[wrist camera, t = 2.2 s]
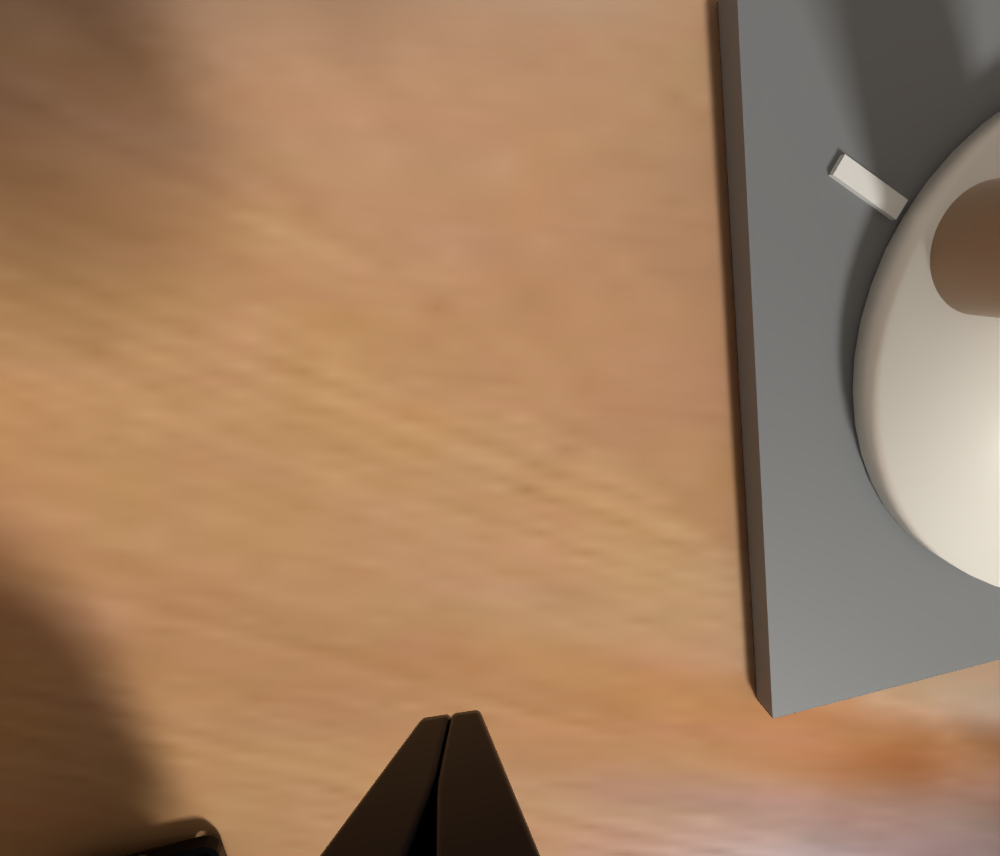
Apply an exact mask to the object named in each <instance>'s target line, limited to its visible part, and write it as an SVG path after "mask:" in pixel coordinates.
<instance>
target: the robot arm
mask: <svg viewBox="0 0 1000 856" xmlns="http://www.w3.org/2000/svg"><path fill="white" fill-rule="evenodd" d="M200 853H207V854H209V855H202V854H200ZM128 856H226V854H225V851H224V848H223V845H222V843H221V842H220V840H218V839H217V838H215V837H212V836H202V837H198V838H194V839H190V840H186V841H182V842H178V843H175V844H171V845H167V846H163V847H159V848H155V849H151V850H147V851H143V852H139V853H135V854H132V855H128ZM320 856H540V855H539V852H538V850H537V847H536V845H535V843H534V840H533V838H532V835H531V833H530V830H529V828H528V826H527V823H526V821H525V818H524V816H523V814H522V811H521V809H520V806H519V804H518V801H517V799H516V797H515V794H514V792H513V789H512V787H511V785H510V782H509V780H508V777H507V775H506V773H505V770H504V768H503V765H502V763H501V760H500V758H499V756H498V753H497V751H496V748H495V746H494V744H493V741H492V739H491V736H490V734H489V731H488V729H487V727H486V724H485V722H484V719H483V717H482V715H481V713H480V712H479V711H477V710H474V711H467V712H459V713H455V714H454V715H453V716H452V717H450V716H449V715H439V716H433V717H426V718H423V719H422V720H421V721H420V722H419V723H418V725H417V726H416V727H415V729H414V730H413V732H412V733H411V734H410V736H409V737H408V738H407V740H406V741H405V742H404V744H403V745H402V746H401V748H400V749H399V750H398V752H397V753H396V754H395V756H394V757H393V758H392V760H391V761H390V763H389V764H388V765H387V767H386V768H385V769H384V771H383V772H382V773H381V775H380V776H379V777H378V779H377V780H376V781H375V783H374V784H373V785H372V787H371V788H370V789H369V791H368V792H367V793H366V795H365V796H364V798H363V799H362V800H361V802H360V803H359V804H358V806H357V807H356V808H355V810H354V811H353V812H352V814H351V815H350V816H349V818H348V819H347V820H346V822H345V823H344V824H343V826H342V827H341V829H340V830H339V831H338V833H337V834H336V835H335V837H334V838H333V839H332V841H331V842H330V843H329V845H328V846H327V847H326V849H325V850H324V851H323V853H322V854H321V855H320Z"/></svg>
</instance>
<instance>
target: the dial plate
mask: <svg viewBox="0 0 1000 856" xmlns="http://www.w3.org/2000/svg"><path fill="white" fill-rule="evenodd" d="M718 16H719V34H720V51H721V69H722V87H723V104H724V122H725V140H726V157H727V175H728V193H729V211H730V228H731V246H732V264H733V281H734V299H735V317H736V334H737V352H738V370H739V387H740V405H741V423H742V441H743V458H744V476H745V494H746V511H747V529H748V547H749V564H750V582H751V600H752V617H753V635H754V653H755V671H756V688H757V700H758V701H759V703H760V704H761V705H762V706H763V707H764V709H765V710H766V711H767V712H768V713H769V715H770V716H771V717H772V718H777V717H781V716H785V715H788V714H792V713H796V712H800V711H804V710H808V709H811V708H815V707H819V706H823V705H827V704H831V703H834V702H838V701H842V700H846V699H850V698H854V697H857V696H861V695H865V694H869V693H873V692H877V691H880V690H884V689H888V688H892V687H896V686H900V685H903V684H907V683H911V682H915V681H919V680H923V679H926V678H930V677H934V676H938V675H942V674H946V673H949V672H953V671H957V670H961V669H965V668H969V667H972V666H976V665H980V664H984V663H988V662H992V661H995V660H999V659H1000V587H997V586H994V585H991V584H989V583H987V582H984V581H982V580H980V579H978V578H975V577H973V576H971V575H969V574H967V573H965V572H963V571H962V570H960V569H958V568H956V567H954V566H953V565H951V564H949V563H947V562H945V561H943V560H942V559H940V558H938V557H937V556H935V555H934V554H932V553H931V552H929V551H928V550H926V549H925V548H923V547H922V546H920V545H919V544H918V543H917V542H916V541H915V540H913V539H912V538H911V537H910V536H909V535H908V534H907V533H906V532H905V531H904V530H903V529H902V528H901V527H900V526H899V525H898V523H897V522H896V521H895V520H894V518H893V517H892V516H891V514H890V513H889V512H888V511H887V509H886V508H885V507H884V505H883V503H882V501H881V499H880V497H879V496H878V494H877V492H876V490H875V488H874V486H873V485H872V483H871V480H870V477H869V475H868V472H867V469H866V466H865V464H864V461H863V458H862V455H861V451H860V446H859V441H858V437H857V432H856V427H855V419H854V405H853V373H854V356H855V350H856V344H857V338H858V332H859V327H860V321H861V317H862V314H863V310H864V307H865V304H866V300H867V297H868V293H869V290H870V286H871V283H872V281H873V278H874V276H875V274H876V271H877V269H878V266H879V264H880V261H881V259H882V257H883V254H884V252H885V249H886V247H887V245H888V244H889V242H890V240H891V238H892V236H893V234H894V232H895V231H896V229H897V227H898V225H899V223H900V221H901V220H902V218H903V216H904V214H905V212H906V211H907V210H908V208H909V207H910V205H911V204H912V202H913V201H914V199H915V198H916V196H917V195H918V194H919V192H920V191H921V189H922V188H923V186H924V185H925V183H926V182H927V181H928V179H929V178H930V177H931V176H932V175H933V174H934V172H935V171H936V170H937V169H938V168H939V167H940V165H941V164H942V163H943V162H944V161H945V160H946V158H947V157H948V156H949V155H950V154H951V153H952V151H953V150H954V149H955V148H957V147H958V146H959V145H960V144H961V143H962V142H963V141H964V140H965V139H966V138H967V137H968V136H969V135H971V134H972V133H973V132H974V131H975V130H976V129H977V128H978V127H979V126H980V125H981V124H982V123H984V122H985V121H987V120H988V119H989V118H991V117H992V116H993V115H995V114H996V113H997V112H999V111H1000V0H720V1H719V2H718Z"/></svg>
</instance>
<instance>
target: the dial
mask: <svg viewBox="0 0 1000 856" xmlns="http://www.w3.org/2000/svg"><path fill="white" fill-rule="evenodd" d="M853 405H854V419H855V427H856V432H857V437H858V441H859V446H860V451H861V455H862V458H863V461H864V464H865V466H866V469H867V472H868V475H869V477H870V480H871V483H872V485H873V486H874V488H875V490H876V492H877V494H878V496H879V497H880V499H881V501H882V503H883V505H884V507H885V508H886V509H887V511H888V512H889V513H890V514H891V516H892V517H893V518H894V520H895V521H896V522H897V523H898V525H899V526H900V527H901V528H902V529H903V530H904V531H905V532H906V533H907V534H908V535H909V536H910V537H911V538H912V539H913V540H915V541H916V542H917V543H918V544H919V545H920V546H922V547H923V548H925V549H926V550H928V551H929V552H931V553H932V554H934V555H935V556H937V557H938V558H940V559H942V560H943V561H945V562H947V563H949V564H951V565H953V566H954V567H956V568H958V569H960V570H962V571H963V572H965V573H967V574H969V575H971V576H973V577H975V578H978V579H980V580H982V581H984V582H987V583H989V584H991V585H994V586H997V587H1000V111H999V112H997V113H996V114H995V115H993V116H992V117H991V118H989V119H988V120H987V121H985V122H984V123H982V124H981V125H980V126H979V127H978V128H977V129H976V130H975V131H974V132H973V133H972V134H971V135H969V136H968V137H967V138H966V139H965V140H964V141H963V142H962V143H961V144H960V145H959V146H958V147H957V148H955V149H954V150H953V151H952V153H951V154H950V155H949V156H948V157H947V158H946V160H945V161H944V162H943V163H942V164H941V165H940V167H939V168H938V169H937V170H936V171H935V172H934V174H933V175H932V176H931V177H930V178H929V179H928V181H927V182H926V183H925V185H924V186H923V188H922V189H921V191H920V192H919V194H918V195H917V196H916V198H915V199H914V201H913V202H912V204H911V205H910V207H909V208H908V210H907V211H906V212H905V214H904V216H903V218H902V220H901V221H900V223H899V225H898V227H897V229H896V231H895V232H894V234H893V236H892V238H891V240H890V242H889V244H888V245H887V247H886V249H885V252H884V254H883V257H882V259H881V261H880V264H879V266H878V269H877V271H876V274H875V276H874V278H873V281H872V283H871V286H870V290H869V293H868V297H867V300H866V304H865V307H864V310H863V314H862V317H861V321H860V327H859V332H858V338H857V344H856V350H855V356H854V373H853Z"/></svg>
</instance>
